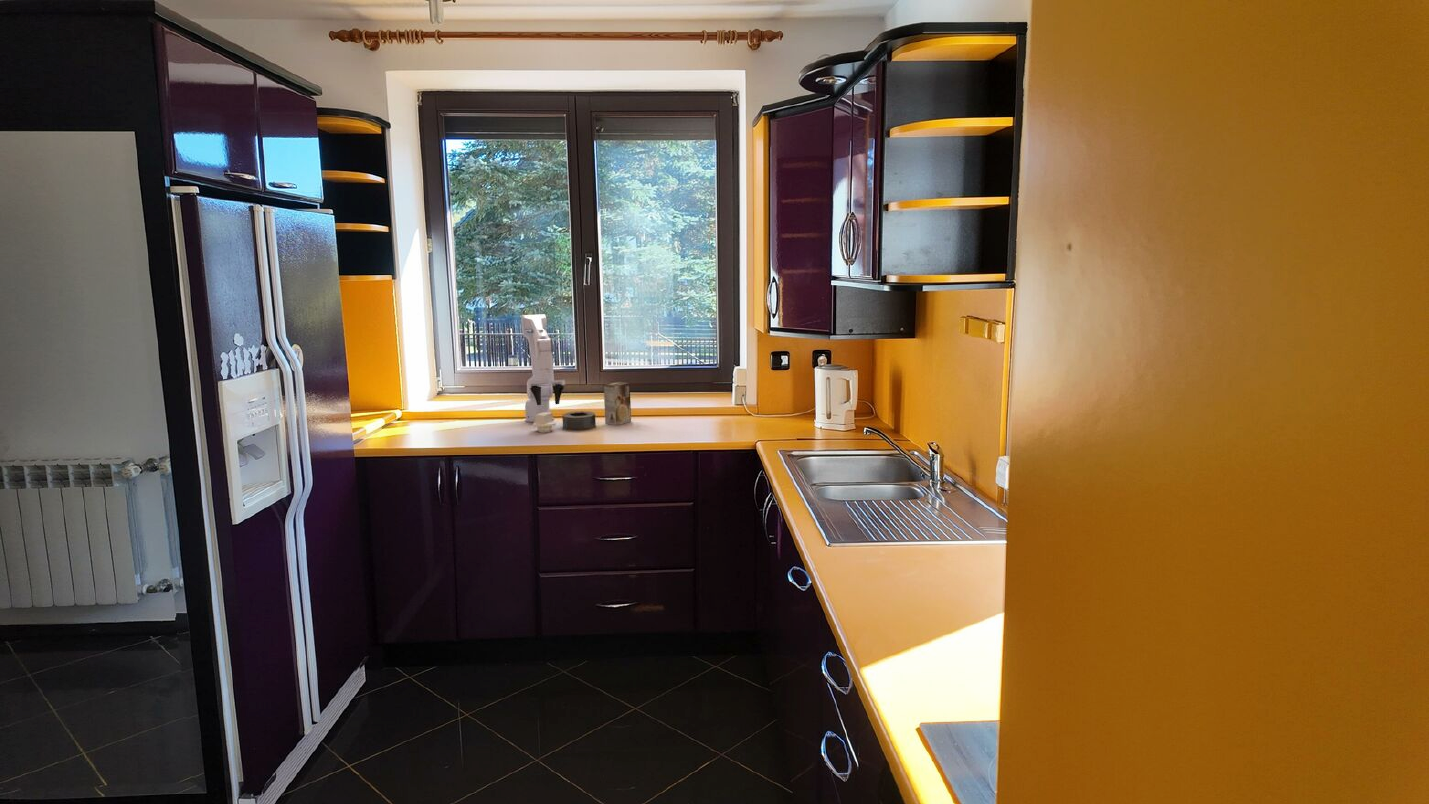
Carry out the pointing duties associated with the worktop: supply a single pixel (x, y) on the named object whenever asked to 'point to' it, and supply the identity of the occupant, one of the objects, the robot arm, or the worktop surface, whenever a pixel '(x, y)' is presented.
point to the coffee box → (617, 403)
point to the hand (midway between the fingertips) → (548, 404)
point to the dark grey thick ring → (579, 420)
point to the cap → (544, 422)
